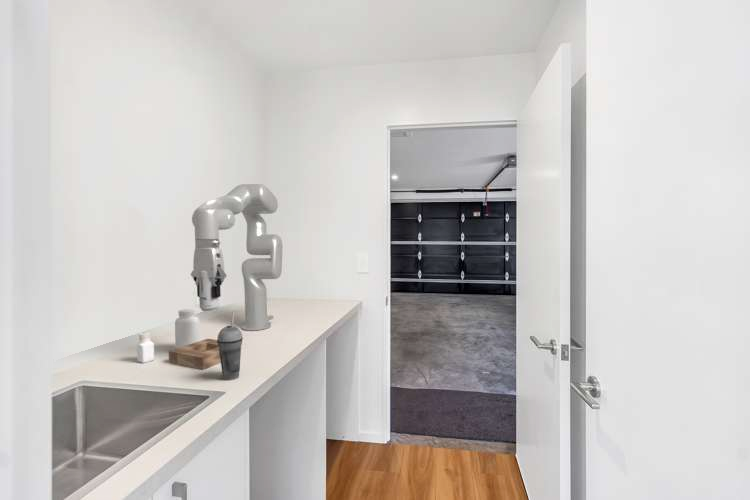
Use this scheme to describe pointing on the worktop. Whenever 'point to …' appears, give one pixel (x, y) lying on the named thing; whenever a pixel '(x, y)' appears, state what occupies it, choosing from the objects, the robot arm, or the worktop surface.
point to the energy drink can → (206, 292)
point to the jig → (197, 354)
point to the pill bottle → (186, 328)
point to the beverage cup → (230, 350)
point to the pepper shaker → (145, 348)
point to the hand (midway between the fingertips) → (209, 296)
